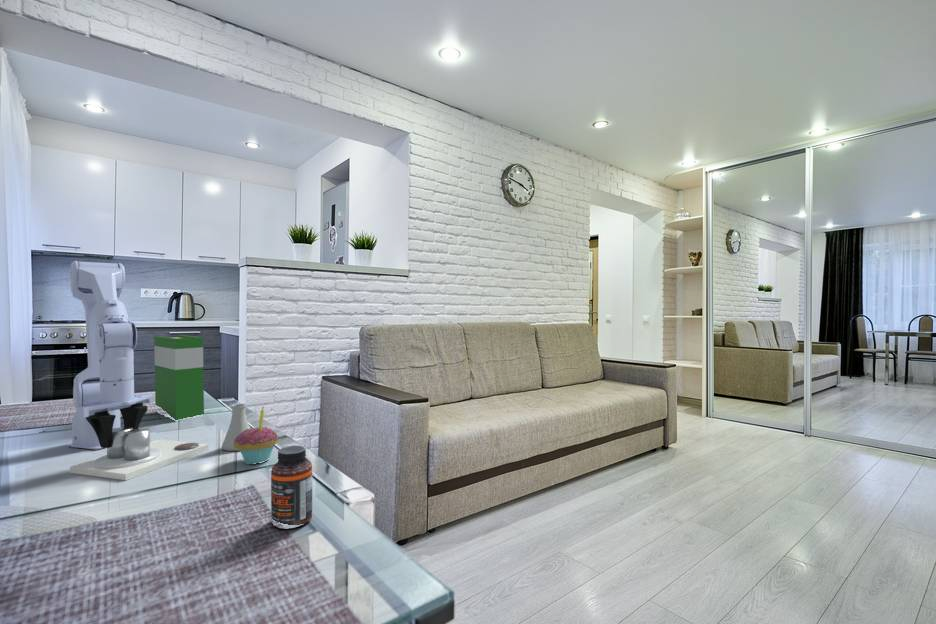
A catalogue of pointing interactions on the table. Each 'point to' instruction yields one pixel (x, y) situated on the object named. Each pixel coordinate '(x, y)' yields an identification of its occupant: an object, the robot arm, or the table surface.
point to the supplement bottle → (291, 487)
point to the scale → (125, 470)
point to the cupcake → (256, 443)
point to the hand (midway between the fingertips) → (118, 443)
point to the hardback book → (179, 375)
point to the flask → (235, 426)
